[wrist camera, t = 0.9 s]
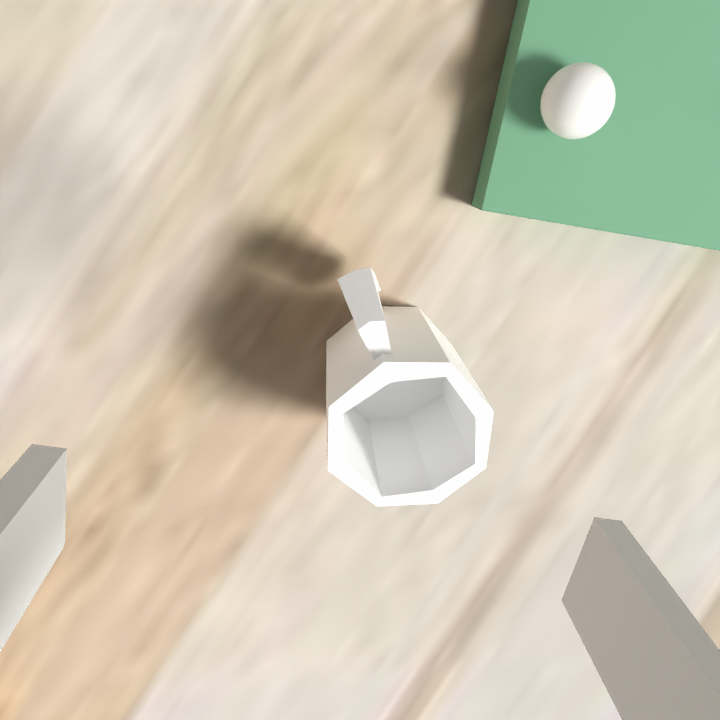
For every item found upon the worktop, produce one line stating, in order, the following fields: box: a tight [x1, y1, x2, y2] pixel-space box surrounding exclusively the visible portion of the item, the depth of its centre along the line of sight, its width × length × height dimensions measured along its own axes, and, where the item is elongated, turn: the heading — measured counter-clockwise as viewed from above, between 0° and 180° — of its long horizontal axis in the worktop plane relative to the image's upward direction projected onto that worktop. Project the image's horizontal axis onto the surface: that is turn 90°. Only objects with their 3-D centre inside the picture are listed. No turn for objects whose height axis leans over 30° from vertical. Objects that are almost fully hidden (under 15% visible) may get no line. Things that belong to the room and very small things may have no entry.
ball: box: [540, 62, 616, 139], centre depth 30 cm, size 4×4×4 cm
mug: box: [326, 267, 494, 506], centre depth 33 cm, size 12×9×10 cm
